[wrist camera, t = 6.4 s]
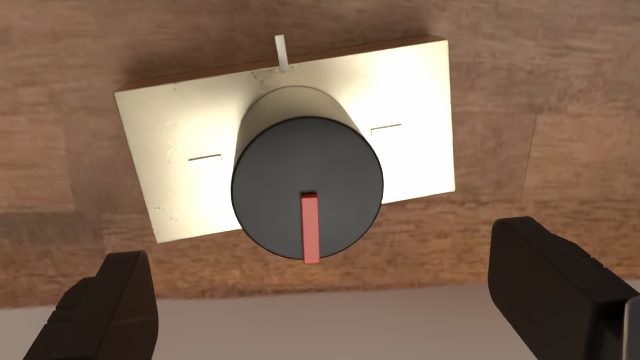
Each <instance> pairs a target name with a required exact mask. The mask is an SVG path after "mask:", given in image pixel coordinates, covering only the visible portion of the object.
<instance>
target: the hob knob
mask: <svg viewBox="0 0 640 360" xmlns="http://www.w3.org/2000/svg"><path fill="white" fill-rule="evenodd" d="M383 195H384V175H383V170H382V166H381V163H380V160H379V158H378V156H377V154H376V152H375V150H374V149H373V147H372V146H371V145H370V143H369V142H368V140H367V139H366V138H365V136H364V135H363V134H362V132H361V131H360V129H359V128H358V127H357V125H356V124H355V123H354V121H353V120H352V119H351V117H350V116H349V114H348V113H347V112H346V110H345V109H344V108H343V107H342V106H341V104H340V103H339V102H337V101H336V100H335V99H334V98H333V97H331V96H329V95H328V94H326V93H324V92H322V91H319V90H316V89H313V88H308V87H296V86H294V87H286V88H282V89H278V90H276V91H273V92H271V93H269V94H267V95H265V96H263V97H262V98H261V99H259V100H258V101H257V102H256V103H255V104H254V105H253V106H252V107H251V108H250V109H249V110H248V112H247V113H246V115H245V116H244V118H243V120H242V122H241V125H240V127H239V131H238V134H237V141H236V148H235V155H234V162H233V169H232V176H231V185H230V197H231V203H232V208H233V211H234V214H235V216H236V218H237V220H238V223H239V224H240V226H241V227H242V229H243V230H244V232H245V233H246V234H247V235H248V236H249V237H250V238H251V239H252V240H253V241H254V242H255V243H256V244H258V245H259V246H261V247H262V248H264V249H265V250H267V251H269V252H271V253H273V254H276V255H278V256H281V257H285V258H290V259H297V260H303V261H304V264H311V263H320V258H324V257H328V256H331V255H334V254H337V253H339V252H341V251H343V250H345V249H347V248H348V247H350V246H351V245H353V244H354V243H355V242H357V241H358V240H359V239H360V238H361V237H362V236H363V235H364V234H365V233H366V232H367V231H368V229H369V228H370V227H371V225H372V224H373V222H374V220H375V219H376V217H377V215H378V213H379V210H380V207H381V204H382V200H383Z"/></svg>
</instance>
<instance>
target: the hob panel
mask: <svg viewBox="0 0 640 360" xmlns="http://www.w3.org/2000/svg"><path fill="white" fill-rule="evenodd" d="M275 42H276V48H277V54H278V58H276V59H269V60H263V61H257V62H250V63H244V64H238V65H231V66H225V67H219V68H212V69H206V70H200V71H193V72H187V73H181V74H175V75H168V76H162V77H156V78H149V79H143V80H137V81H130V82H127V83H126V84H124V85H123V86H121V87H120V88H119V89H117V90H116V91H114V92H113V94H114V98H115V101H116V105H117V108H118V112H119V115H120V118H121V122H122V125H123V129H124V132H125V136H126V139H127V143H128V146H129V150H130V153H131V156H132V160H133V163H134V167H135V170H136V174H137V177H138V181H139V184H140V188H141V191H142V195H143V198H144V201H145V205H146V208H147V212H148V215H149V219H150V222H151V226H152V229H153V233H154V236H155V239H156V243H157V244H158V243H164V242H169V241H175V240H181V239H186V238H192V237H198V236H203V235H209V234H215V233H220V232H226V231H232V230H237V229H242V227H241V226H240V224H239V223H238V220H237V218H236V216H235V214H234V211H233V208H232V203H231V197H230V185H231V176H232V169H233V162H234V155H235V148H236V141H237V134H238V131H239V127H240V125H241V122H242V120H243V118H244V116H245V115H246V113H247V112H248V110H249V109H250V108H251V107H252V106H253V105H254V104H255V103H256V102H257V101H258V100H259V99H261V98H262V97H263V96H265V95H267V94H269V93H271V92H273V91H276V90H278V89H282V88H286V87H294V86H296V87H308V88H313V89H316V90H319V91H322V92H324V93H326V94H328V95H329V96H331V97H333V98H334V99H335V100H336V101H337V102H339V103H340V104H341V106H342V107H343V108H344V109H345V110H346V112H347V113H348V114H349V116H350V117H351V119H352V120H353V121H354V123H355V124H356V125H357V127H358V128H359V129H360V131H361V132H362V134H363V135H364V136H365V138H366V139H367V140H368V142H369V143H370V145H371V146H372V147H373V149H374V150H375V152H376V154H377V156H378V158H379V160H380V163H381V166H382V170H383V175H384V195H383V200H382V204H385V203H390V202H396V201H402V200H408V199H413V198H419V197H425V196H430V195H436V194H442V193H447V192H453V191H455V172H454V151H453V129H452V108H451V86H450V65H449V43H448V39H446V38H442V37H438V36H434V35H430V34H428V35H421V36H415V37H409V38H402V39H396V40H390V41H383V42H377V43H371V44H364V45H358V46H352V47H345V48H339V49H333V50H326V51H320V52H314V53H307V54H301V55H295V56H288V57H287V54H286V47H285V41H284V35H276V36H275Z"/></svg>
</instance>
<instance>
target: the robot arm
mask: <svg viewBox="0 0 640 360" xmlns="http://www.w3.org/2000/svg"><path fill="white" fill-rule="evenodd" d="M488 287H489V291H490V295H491V298H492V300H493V302H494V304H495V305H496V307H497V308H498V309H499V310H500V312H501V313H502V314H503V316H504V317H505V318H506V319H507V321H508V322H509V323H510V324H511V326H512V327H513V328H514V329H515V331H516V332H517V334H518V335H519V336H520V337H521V339H522V340H523V341H524V342H525V344H526V345H527V346H528V347H529V349H530V350H531V352H532V353H533V354H534V355H535V357H536V358H537V359H538V360H640V293H639V292H637V291H636V290H635V289H633V288H632V287H631V286H629V285H628V284H627V283H626V282H624V281H623V280H622V279H621V278H619V277H618V276H617V275H615V274H614V273H613V272H612V271H610V270H609V269H608V268H604V267H603V265H602V264H601V263H600V262H599V261H597V260H596V259H595V258H591V255H590V254H588V253H587V252H586V251H584V250H583V249H582V248H581V247H579V246H578V245H577V244H575V243H573V242H571V241H568V240H566V239H564V238H562V237H559V236H557V235H555V234H552V233H550V232H549V231H548V230H547V229H545V228H544V227H543V226H542V225H540V224H539V223H538V222H537V221H535V220H534V219H533V218H531V217H529V216H525V217H514V218H503V219H497V220H496V221H495V222H494V224H493V227H492V235H491V247H490V259H489V270H488ZM157 337H158V310H157V305H156V299H155V293H154V288H153V282H152V276H151V271H150V265H149V260H148V256H147V253H146V252H145V251H144V250H140V251H129V252H118V253H109V254H108V255H107V256H106V258H105V260H104V262H103V264H102V265H101V267H100V269H99V271H98V272H97V274H96V276H95V277H88V278H83V279H82V280H80V281H79V282H78V283H77V284H75V285H74V286H73V287H71V288H70V289H69V290H67V291H66V292H65V294H64V295H63V297H62V298H61V300H60V301H59V303H58V305H57V306H56V311H53V312H52V314H51V316H50V317H49V319H48V321H47V324H45V325H44V327H43V328H42V330H41V331H40V333H39V335H38V336H37V338H36V339H35V341H34V342H33V344H32V346H31V347H30V349H29V351H28V352H27V354H26V355H25V357H24V358H23V360H151V359H152V355H153V352H154V348H155V345H156V341H157Z"/></svg>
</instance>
